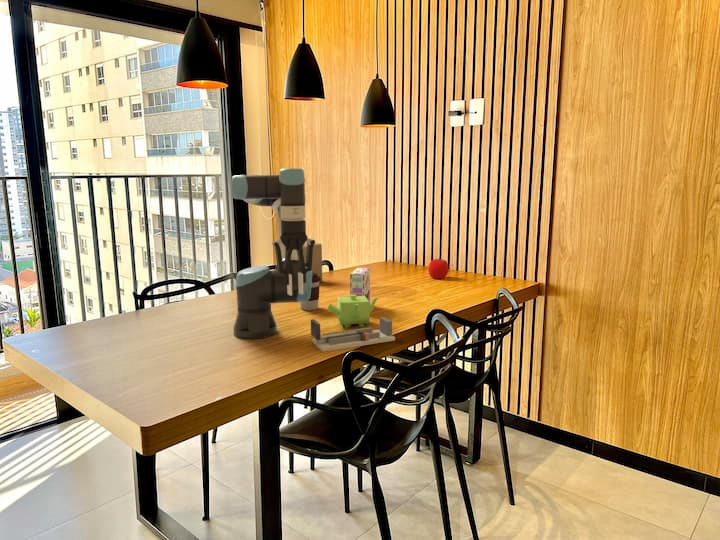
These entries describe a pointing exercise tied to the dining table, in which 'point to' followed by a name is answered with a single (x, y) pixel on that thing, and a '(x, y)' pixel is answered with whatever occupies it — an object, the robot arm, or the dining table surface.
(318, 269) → the wooden block
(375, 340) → the base
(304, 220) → the robot arm
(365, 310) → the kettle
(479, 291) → the dining table surface
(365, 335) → the small salmon eraser
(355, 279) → the candy box
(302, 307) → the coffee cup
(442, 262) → the tomato
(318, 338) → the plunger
